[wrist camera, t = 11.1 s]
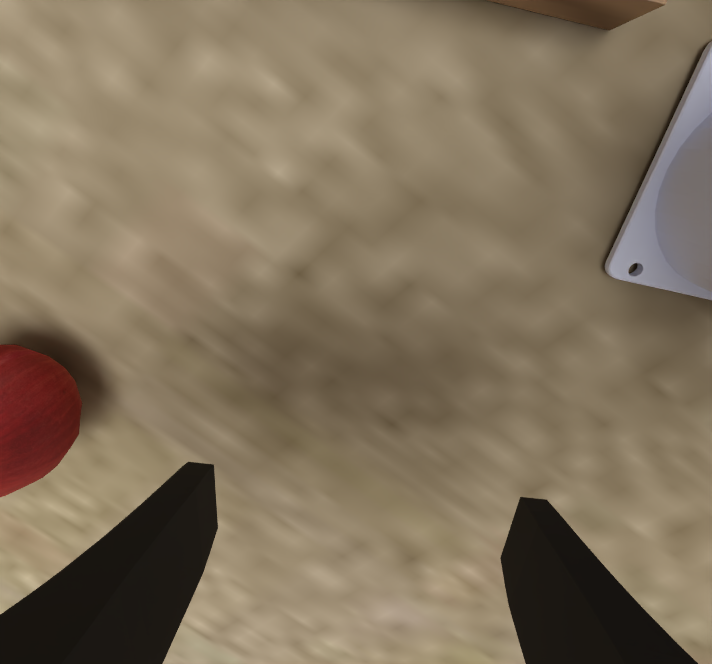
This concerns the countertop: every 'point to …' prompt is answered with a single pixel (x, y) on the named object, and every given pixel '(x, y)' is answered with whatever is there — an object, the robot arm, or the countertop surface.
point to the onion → (34, 416)
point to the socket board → (589, 10)
